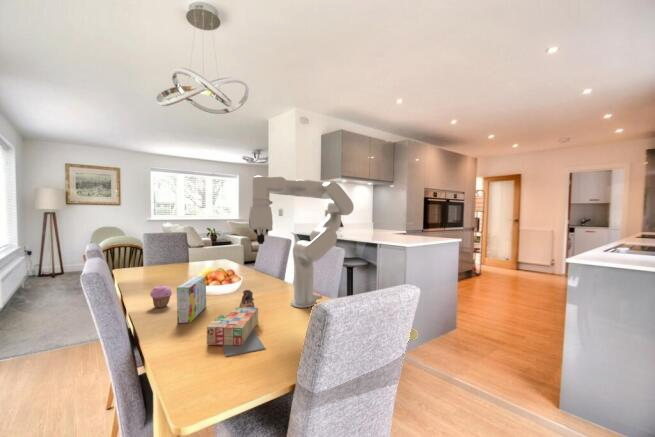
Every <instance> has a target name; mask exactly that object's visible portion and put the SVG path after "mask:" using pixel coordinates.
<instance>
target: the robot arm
mask: <svg viewBox="0 0 655 437" xmlns="http://www.w3.org/2000/svg"><path fill="white" fill-rule="evenodd" d="M270 194H273V195H281V196H291V197H292V196H293V197H301V198H302V197H304V198H313V199H320V200H321V199H322V200H326V199H327V200H328V199H329V200H330V199H331V200H330V201H329V203H328V204H327V214H326V215H327V216H326V218H325V219H324V220H323V221H322V222H321V223H320V224H319V225H318V226H316V227H315V228H314V229H313V230H312V231H311V233H310V235H309V239H310V241H309V240H304V239H303V240H298V241H297V242H296V243H295V244H294V245H293V248H292V258H293V266H294V267H293V268H294V269H293V270H294V272H293V300H292V299H291V301H290V305H291V306H292V307H294V308H300V309H302V308H303V309H306V308H307V307H308V308H312V307H314V306H313V305H314V304H316V305H317V300H322V299H323V295H322V294H320V295H318V294H314V263H317V262H318V261H320V260H321V259H322V258H323V257H324V256H325V255H326V254H327V253H328V252H329V251H331V249H332V248H334V246H335V245H336V243H337V240H338V234H337V231H338V230H340V227H341V224H342V216H349V215H350V214H352V213H353V211H354V209H355V208H354V203H353V201H352V199H351V197H350V196H349V195H348V194H347V193H346V192H345V190H344V189H343V187H342V186H341V185H340V184H339V183H337V182H336V181H320V180H319V181H317V180H311V179H294V180H293V179H292V180H290V179H289V180H288V179H286V178H285V177H283V176H280V175H279V176H266V175H256V176H253V177H252V205H250V208H249V215H248V231H250V232H253V233H255V234H256V242H257V244H259V245H264V243H265V236H266V234H267V233H268V232H272V231H273V230H274V229H273V211H272V207H271V206H270V205H273V201H271V200H270ZM260 229H261V231H260ZM311 306H312V307H311Z"/></svg>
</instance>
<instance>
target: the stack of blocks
mask: <svg viewBox="0 0 655 437" xmlns="http://www.w3.org/2000/svg"><path fill="white" fill-rule="evenodd" d="M258 323H259V307H255V308H246V307H244V308H239V307H235V308H234V309H233V310H231V312H230V313H229V314H219V316H217V317H216V318H215V319H214V320H212V321H211V322H210V323H209V324H208V325H207V326H206V345H208V346H210V345H211V346H222V345H233V346H242V345H243V343H244V342H245V340H246V339H247V337H248V336H249V334H250V333H251V332H252V330H253V329H254V330H255V328H256V326H257V324H258Z"/></svg>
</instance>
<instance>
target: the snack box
mask: <svg viewBox="0 0 655 437" xmlns="http://www.w3.org/2000/svg"><path fill="white" fill-rule="evenodd" d="M206 278H207V277H206V275H195V276H193V277H191V278H190V279H189V280H187V281H185V282H183V283H182V284H180V285H179V286H177V287H176V315H177V317H176V318H177V320H176V321H177V322H176V323H177V324H190V323H192V321H194V320H195V318H196V317H197V316H198V315H199V314H200V313H202V312H203V310H204V309H205V308H207V286H206V285H207V282H206Z"/></svg>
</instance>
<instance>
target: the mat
mask: <svg viewBox="0 0 655 437" xmlns="http://www.w3.org/2000/svg"><path fill="white" fill-rule="evenodd" d="M221 346H222V350H223V352H224V356H225V357H226V358H227V357H228V358H229V357H233V356H237V355H243V354H249V353H254V352H257V351H263V350H266V347H265V346H264V343H263V342H262V340H261V338H260V337H259V336H258V334H257V332H256V330H255V328H254V329H253V330H252V332H251V333H250V334H249V336H248V337H247V339H246V340H245V342H244V343H243V345H242V346H233V345H221Z"/></svg>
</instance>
